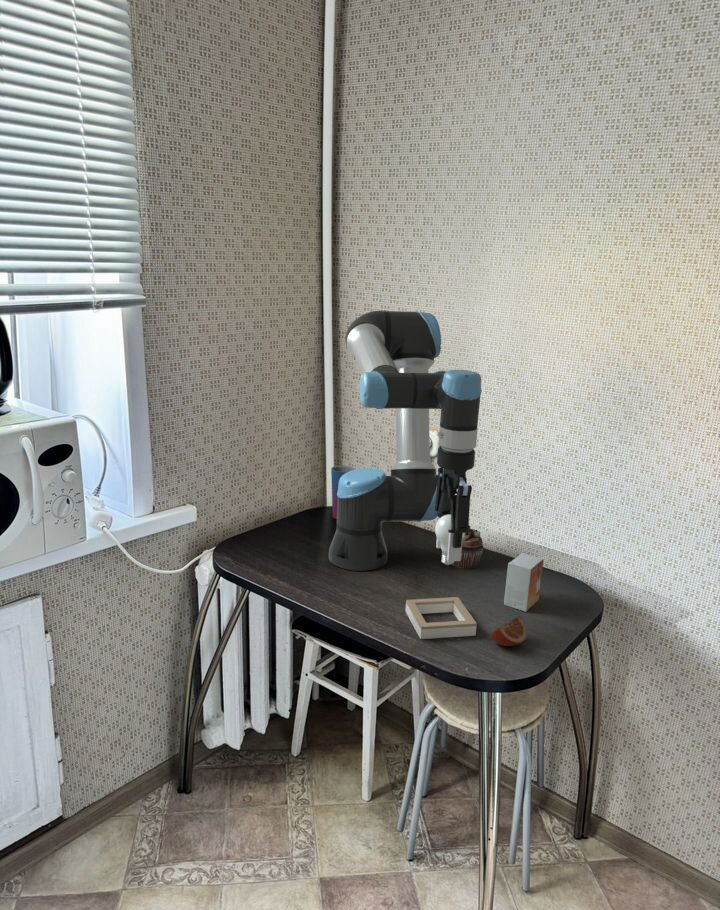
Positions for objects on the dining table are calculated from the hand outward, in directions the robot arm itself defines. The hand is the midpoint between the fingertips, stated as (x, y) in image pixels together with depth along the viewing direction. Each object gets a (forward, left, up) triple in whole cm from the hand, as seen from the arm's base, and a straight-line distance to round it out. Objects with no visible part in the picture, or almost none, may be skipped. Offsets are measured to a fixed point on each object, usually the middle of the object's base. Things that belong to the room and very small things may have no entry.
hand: (448, 553), depth 150 cm
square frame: (0, -1, -16) cm, 16 cm away
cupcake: (-30, +15, -16) cm, 37 cm away
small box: (-7, +21, -16) cm, 28 cm away
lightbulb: (0, 0, -3) cm, 3 cm away
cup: (-66, -11, -16) cm, 68 cm away
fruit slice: (+10, +11, -16) cm, 22 cm away
